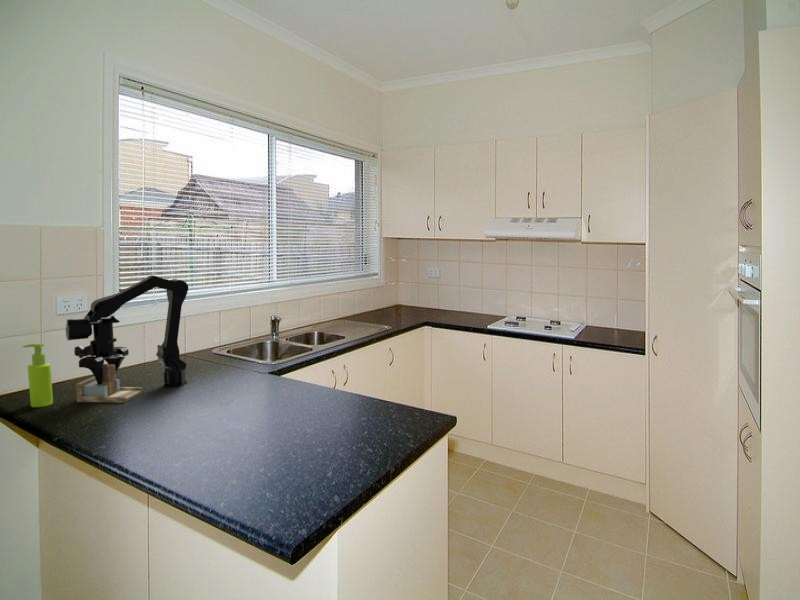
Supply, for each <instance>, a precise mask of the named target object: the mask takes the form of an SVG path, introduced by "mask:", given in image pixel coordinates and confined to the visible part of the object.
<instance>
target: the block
mask: <svg viewBox="0 0 800 600" xmlns="http://www.w3.org/2000/svg"><path fill="white" fill-rule="evenodd" d="M120 384H121V381H120V378H118V379H117V378H116V388H117V391H118V390H120V387H121V385H120ZM84 396H108V388H107V385H97V381H94V382H92V383H90V384H87V385H85V386H84Z"/></svg>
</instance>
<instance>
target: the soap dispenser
mask: <svg viewBox="0 0 800 600" xmlns="http://www.w3.org/2000/svg"><path fill="white" fill-rule="evenodd" d="M42 347H45V344H44V343H30V344H26V345H23V346H22V348H34V353H33V354H32V355H31V364H30V365H28V366H27V374H28V388H29V397H30V398H29V399H30V407H32V408H42V407H47V406H51V405H53V403H54V396H53V394H54V393H53V385H52V384H53V383H52V381H53V380H52V369H51V368H52V366H51V363H49V362H46V354H45V353H43V352H42Z"/></svg>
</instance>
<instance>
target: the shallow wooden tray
mask: <svg viewBox="0 0 800 600" xmlns="http://www.w3.org/2000/svg"><path fill="white" fill-rule="evenodd" d="M94 381H96V379H95V377H94V376H91V377H90V378H86V379H85V380H82V381H80V382H78V383H76V384H75V389H76V391H75V392H76V402H77V403H116V404H117V403H121V404H122V403H123V404H124V403H125V404H126V402H128V401H131V400H132V399H135V397H137V396H138V395H141V394H142V393H143V391H144V390H143V389H144V388H143V387H138V386H136V387H135V386H132V387H131V386H120V390H118V391H117V392H116V393H114V394H112V395H111V396H84V386H85V385H87V384H90V383H92V382H94Z"/></svg>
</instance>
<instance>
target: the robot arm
mask: <svg viewBox="0 0 800 600" xmlns="http://www.w3.org/2000/svg"><path fill="white" fill-rule="evenodd" d="M155 288H159V289H163V290H166V297H167V302H168V305H167V314H166V323H165V329H164V330H165V331H164V332H165V333H164V337H163V339H164V340H163V342H162V344H158V345H157V346H156V347H157V352H156V354H155V356H157V359H158V361H159V363H161V364H162V365H163V366H164V372H163V385H162V386H163V387H175V388H176V387H179V388H180V387H182V386H184V385H185V384H186V383H188V380H186V367H187V365H188V364H187V363H186V362H184V361H183V360H182V359H181V358H180V357H181V356H180V355H181V354H180V348H179V343H178V339H179V332H180V323H181V314H182V308H183V307H182V306H183V303H184V301H185V300H186V297H187V294H188V291H189V284H188V283H187V282H186V281H184V280H181V279H177V278H173V279H166V278H162V277H159V276H157V275H152V274H151V275H148V276H146V278H144V279H142V280H141V281H138V282H136V283H135V284H133V285H131V286H129V287H127V288H125V289H123V290H121V291H119V292H117V293H114V294H111V295H107V296H104V297H101V298H98V299H96V300H94V301H92V302H91V304H90V306H89V307H90V309H89V311H88V312H87V313H86V315H85V316H84V318H76V319H75V318H73V319H72V318H70V319H66V325H65V326H66V327H65V337H66V340H67V341H74V340H75V341H77V340H85V339H89V338H90V337H91V336H92V335H93V339H92V340H90V341H89V342H90V345H87V346H84V345H82V344H81V345H79V346H78V345H77V346H75V347H74V356H76V357H78V358H79V361H78V368H83V369H84V368H85V369H88V370H90V371H91V373H92V375H93V377H95V379H96V381H97V383H98V384H102V382H103V379H104V374H105V370H106V366H107V365H103V364H105V362H106V364H115V370H116V374H117V373H118V371H119V369H120V367H121V365H122V363H123V362H124V359H126V356H129V349H128V347H126V346H115V342H117V341H118V339H117V338H116V337H115V338H114V324H117V323H120V320H119V319H118V318H116V317H115V316H114V315H113V314H114V313H116V312H117V311H118V310H119V309H120V308H121V307H122V306H123V305H125V304H126V303H128V302H130V301H132V300H135V299H136V298H138V297H140V296H141V295H143V294H145V293H147V292H149V291H150V290H152V289H155Z"/></svg>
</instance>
